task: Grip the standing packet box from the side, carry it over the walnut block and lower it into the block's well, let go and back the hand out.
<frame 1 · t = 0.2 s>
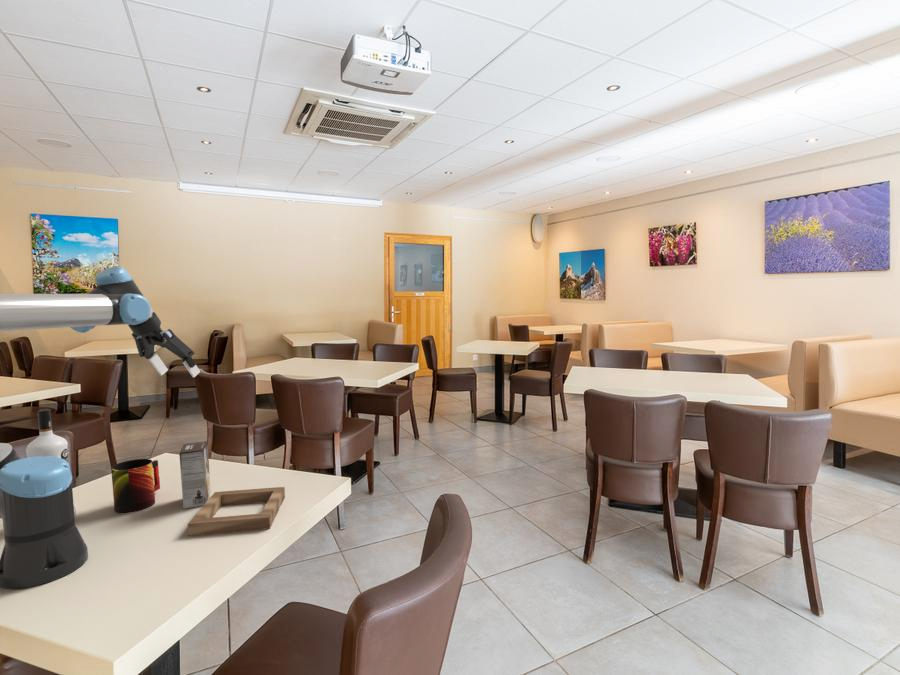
hand: (180, 373, 152), 35 cm above the table, tool tilted 35°, fingers open, 13 cm apart
vodka: (54, 523, 128), on the table
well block: (240, 514, 130), on the table
coffee box: (197, 501, 140), on the table
mug: (137, 504, 139), on the table
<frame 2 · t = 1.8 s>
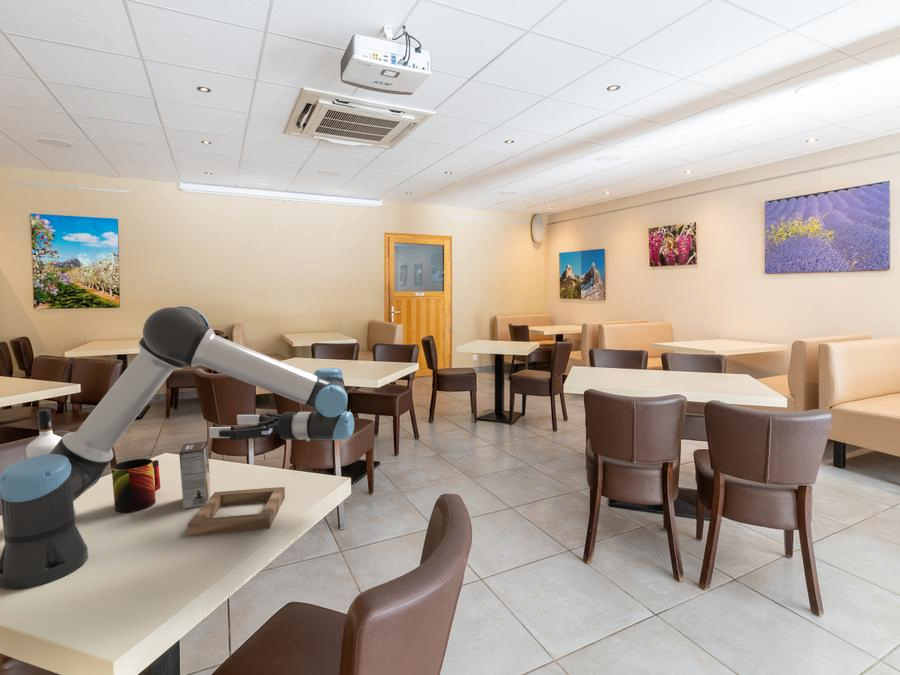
hand: (224, 425, 137), 22 cm above the table, tool horizontal, fingers open, 13 cm apart
nothing on the table moved.
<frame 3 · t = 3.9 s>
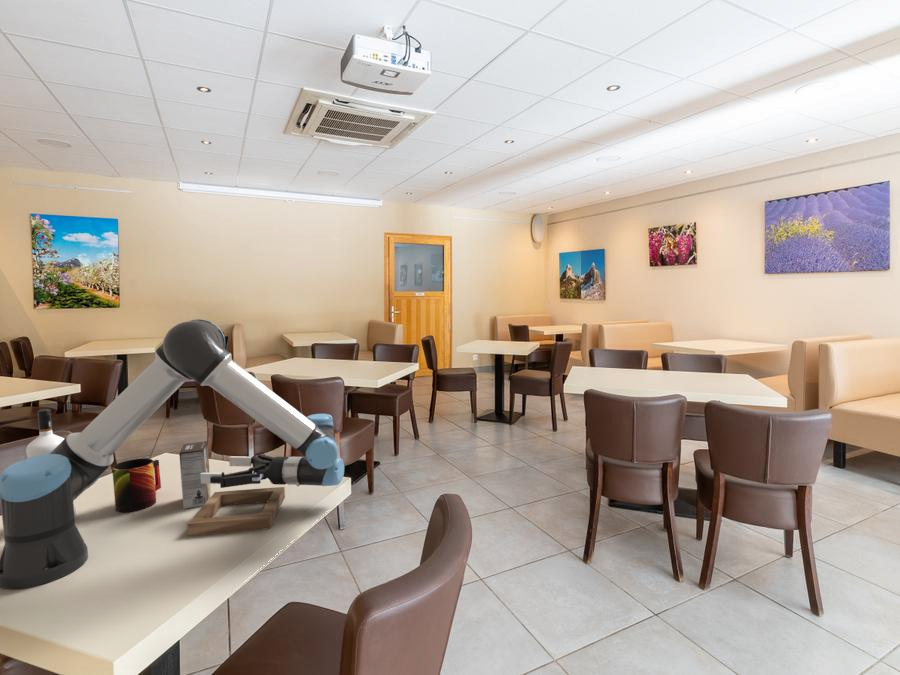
hand: (216, 469, 139), 9 cm above the table, tool horizontal, fingers open, 13 cm apart
nothing on the table moved.
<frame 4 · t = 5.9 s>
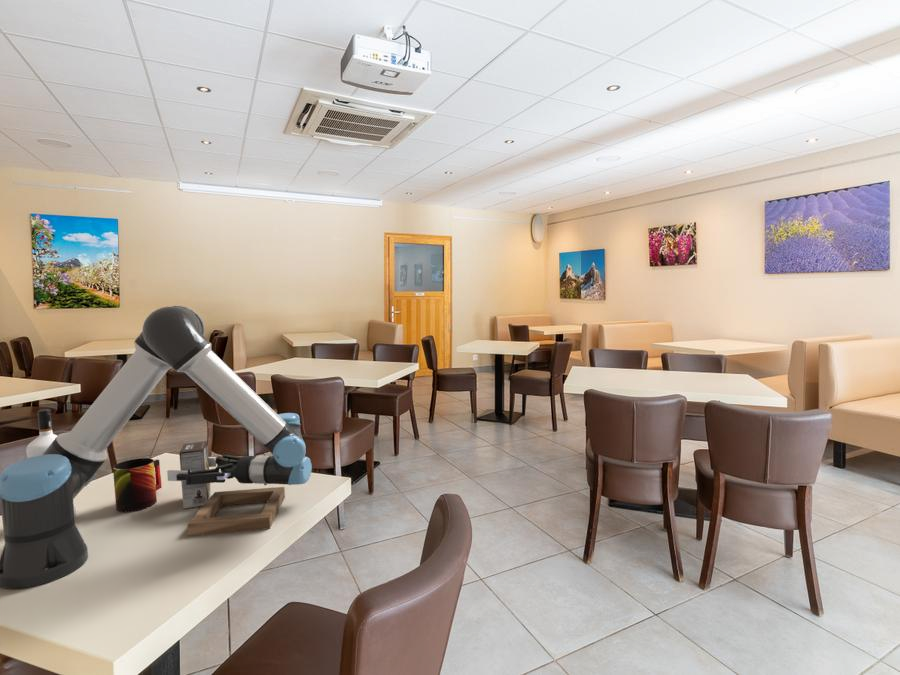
hand: (182, 468, 140), 10 cm above the table, tool horizontal, fingers closed on coffee box, 11 cm apart
coffee box: (197, 501, 140), on the table, touching gripper
everything else where it was.
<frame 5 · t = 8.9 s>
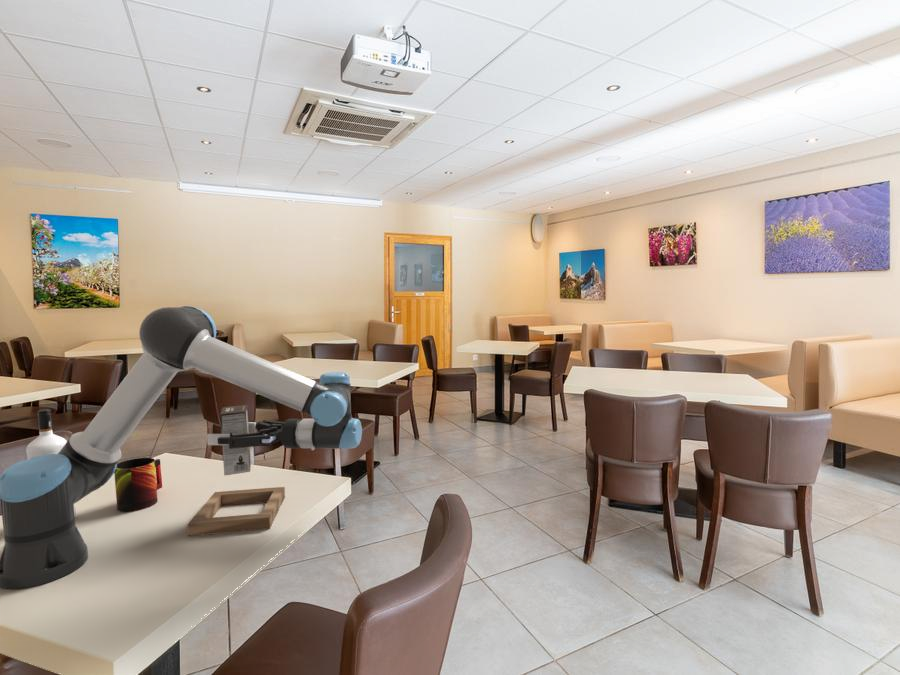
hand: (221, 433, 129), 22 cm above the table, tool horizontal, fingers closed on coffee box, 11 cm apart
coffee box: (238, 469, 129), point 12 cm above the table, touching gripper
everything else where it was.
when the fingers open (11 cm above the table, at t = 12.1 s): coffee box drops 1 cm, resting in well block.
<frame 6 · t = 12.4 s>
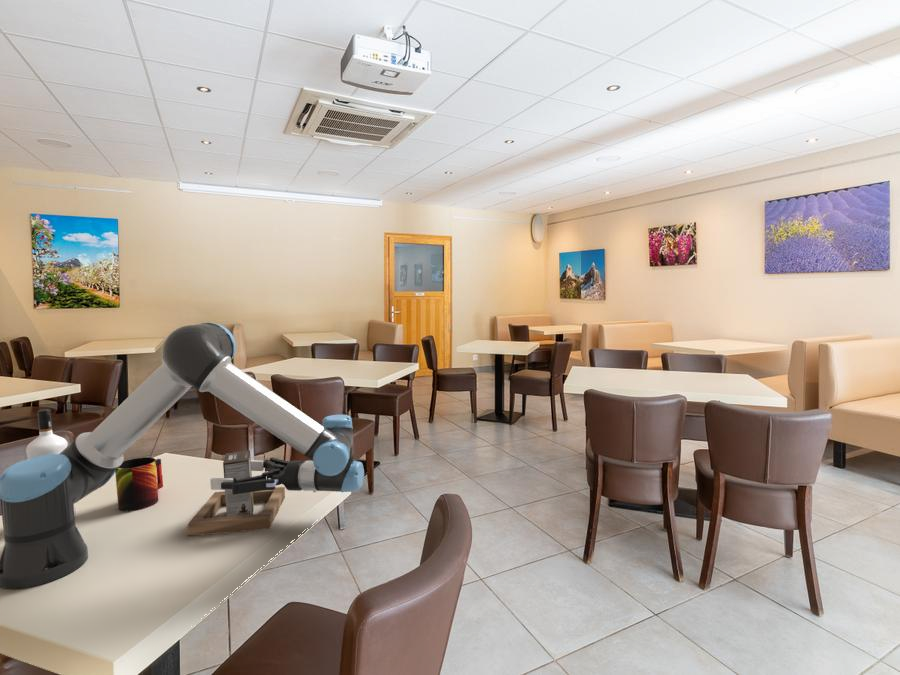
hand: (226, 474, 130), 11 cm above the table, tool horizontal, fingers open, 13 cm apart
coffee box: (241, 515, 130), resting in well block
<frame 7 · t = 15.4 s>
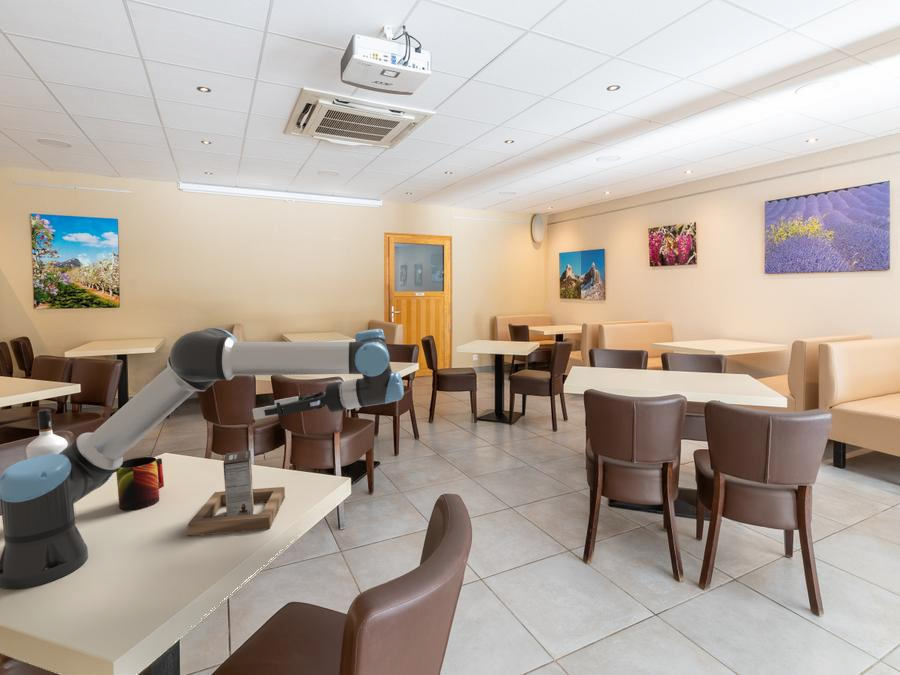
hand: (265, 409, 128), 28 cm above the table, tool horizontal, fingers open, 13 cm apart
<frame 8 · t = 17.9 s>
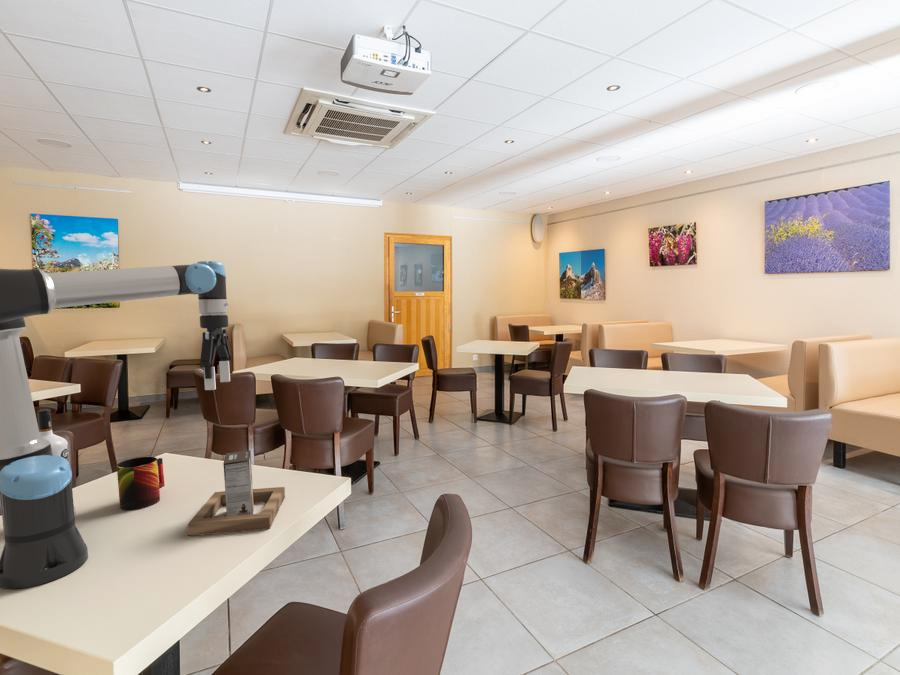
hand: (218, 385, 146), 32 cm above the table, tool pointing down, fingers open, 13 cm apart
at the end: coffee box inside the target area on the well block (0.2 cm from its centre), point 0.0 cm above the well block's base; coffee box tilted 0°; the gripper is holding nothing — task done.
